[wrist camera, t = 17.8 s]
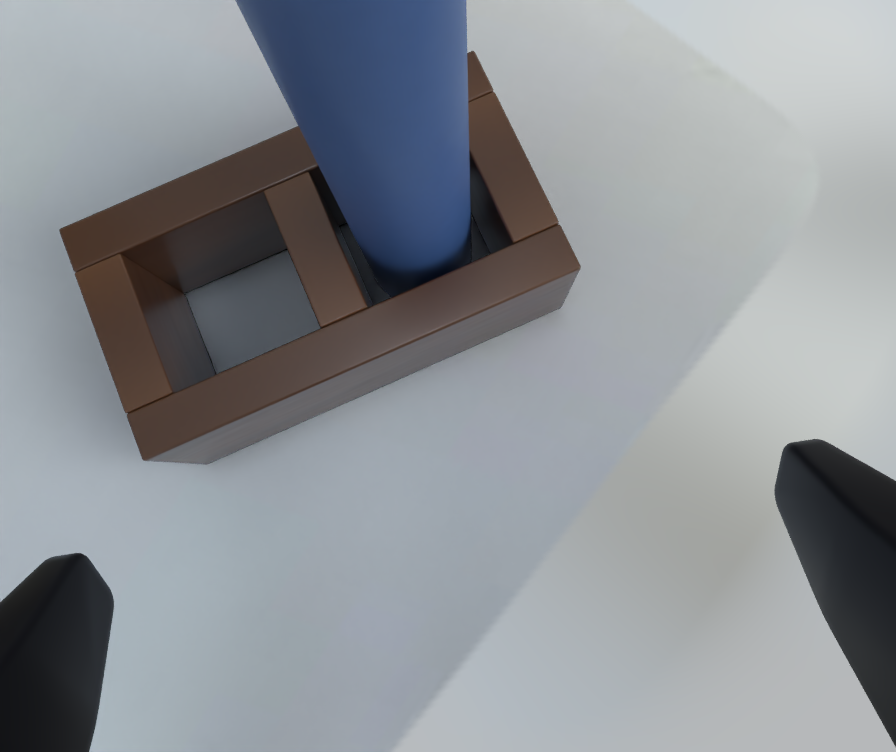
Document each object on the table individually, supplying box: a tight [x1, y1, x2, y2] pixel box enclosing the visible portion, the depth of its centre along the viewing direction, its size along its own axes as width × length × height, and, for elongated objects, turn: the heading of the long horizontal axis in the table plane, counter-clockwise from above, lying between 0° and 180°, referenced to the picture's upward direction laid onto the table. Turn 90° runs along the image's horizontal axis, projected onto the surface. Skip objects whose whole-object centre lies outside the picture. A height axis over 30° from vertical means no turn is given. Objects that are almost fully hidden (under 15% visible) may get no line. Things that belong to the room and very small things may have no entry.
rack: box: [59, 51, 581, 464], centre depth 19 cm, size 7×12×4 cm, turn 114°
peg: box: [236, 0, 472, 297], centre depth 15 cm, size 3×3×14 cm
